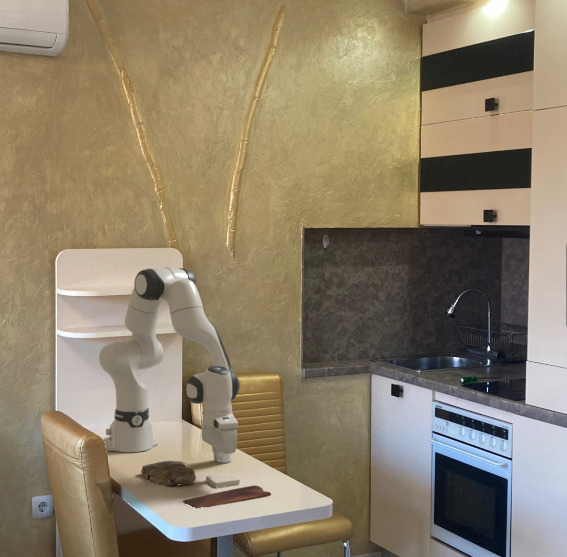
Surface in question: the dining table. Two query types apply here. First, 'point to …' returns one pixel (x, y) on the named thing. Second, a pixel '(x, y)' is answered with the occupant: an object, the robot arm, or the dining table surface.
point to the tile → (222, 480)
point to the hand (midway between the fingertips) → (218, 461)
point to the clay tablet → (169, 473)
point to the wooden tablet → (227, 497)
